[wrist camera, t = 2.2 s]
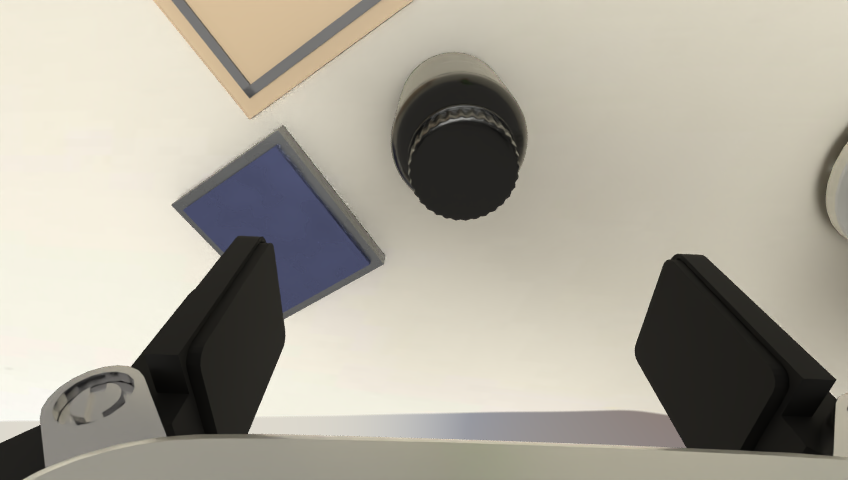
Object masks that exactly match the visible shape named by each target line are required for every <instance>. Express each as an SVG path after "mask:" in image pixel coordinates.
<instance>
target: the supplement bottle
mask: <svg viewBox="0 0 848 480" xmlns="http://www.w3.org/2000/svg"><path fill="white" fill-rule="evenodd" d="M527 140H528V139H527V126H526V122H525V118H524V116H523V113H522V111H521V109H520V106H519V105H518V103H517V101H516V100H515V98H514V97H513V96H512V94H511V93H510V92H509V90H508V89H507V88H506V86H505V85H504V84H503V82H502V81H501V80H500V79H499V77H498V76H497V75H496V73H495V72H494V71H493V70H492V69H491V68H490V67H489V66H488V65H487V64H486V63H484V62H483V61H481V60H480V59H478V58H476V57H474V56H471V55H468V54H464V53H456V52H453V53H443V54H439V55H436V56H434V57H432V58H429V59H428V60H426V61H424V62H423V63H422V64H420V65H419V66H418V67H417V68H416V69H415V70H414V71H413V72H412V74H411V75H410V76H409V78H408V79H407V81H406V83H405V85H404V87H403V90H402V93H401V96H400V100H399V104H398V107H397V111H396V115H395V119H394V123H393V127H392V134H391V150H392V156H393V160H394V163H395V166H396V168H397V170H398V172H399V174H400V176H401V177H402V179H403V180H404V182H405V183H406V184H407V185H408V186H409V188H410V189H411V190H413V191H414V194H415V195H416V196H417V197H419V200H420V202H421V203H422V204H424V205H425V206H426V208H427V209H428V210H431V211H433V212H434V213H435V214H436V215H442V216H443V217H444V218H452V219H454V220H460V219H462V220H469V219H477V218H479V217H480V216H486V215H487V214H488V213H489V212H493V211H495V210H496V209H497V207H498V206H501V205H502V204H503V203H504V201H505V199H507V198H508V197H510V194H511V191H512V190H513V189H514V188H515V182H516V181H517V179H518V172H519V170H520V168H521V166H522V163H523V161H524V158H525V154H526V149H527Z"/></svg>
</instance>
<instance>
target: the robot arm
mask: <svg viewBox="0 0 848 480" xmlns="http://www.w3.org/2000/svg"><path fill="white" fill-rule="evenodd" d="M826 207H827V213H828V216H829V218H830V221H831V223H832V225H833V226H834V227H835V229H836V230H837V231H838V232H839V234H840V235H842V236H843V237H845V238H846V239H848V142H847V144H846V145H845V146H844V148H843V149H842V151H841V153H840V155H839V157H838V158H837V160H836V162H835V164H834V166H833V169H832V171H831V174H830V177H829V180H828V184H827V191H826ZM284 343H285V326H284V319H283V311H282V304H281V296H280V289H279V281H278V274H277V266H276V259H275V251H274V246H273V244H272V243H266V240H265V238H264V237H258V236H237V237H236V238H235V239H234V241H233V242H232V243H231V245H230V246H229V247H228V248H227V250H226V251H225V252H224V253H223V255H222V256H221V257H220V258H219V260H218V261H217V262H216V263H215V265H214V266H213V267H212V268H211V270H210V271H209V272H208V274H207V275H206V276H205V277H204V279H203V280H202V281H201V282H200V284H199V285H198V286H197V287H196V289H194V290H193V291H192V292H191V293H190V294H189V295H188V296H187V297H186V299H185V300H184V301H183V302H182V304H181V305H180V306H179V307H178V309H177V310H176V311H175V312H174V314H173V315H172V316H171V317H170V319H169V320H168V321H167V322H166V324H165V325H164V326H163V327H162V329H161V330H160V331H159V332H158V334H157V335H156V336H155V337H154V339H153V340H152V341H151V342H150V344H149V345H148V346H147V347H146V349H145V350H144V351H143V352H142V354H141V355H140V356H139V357H138V359H137V360H136V361H135V362H134V364H133V365H132V366H131V367H129V366H120V365H117V366H108V367H102V368H98V369H95V370H92V371H88V372H86V373H84V374H82V375H79V376H77V377H75V378H73V379H72V380H70V381H68V382H67V383H65V384H64V385H62V386H61V387H59V388H58V389H57V390H56V391H55V392H54V393H53V394H52V395H51V396H50V397H49V398H48V399H47V401H46V403H45V404H44V406H43V407H42V410H41V415H40V424H41V425H39V426H37V427H35V428H33V429H30V430H28V431H26V432H24V433H22V434H19V435H17V436H15V437H13V438H11V439H8V440H6V441H4V442H2V443H0V480H848V393H846V394H844V395H842V396H839V397H838V399H836V398H835V397H834V396H833V395H832V394H831V393H830V392H829V391H830V389H831V387H832V386H833V384H834V383H835V381H836V379H835V378H834V377H833V376H832V375H831V374H830V373H829V372H827V371H826V370H825V369H824V368H823V367H822V366H821V365H820V364H819V363H818V362H817V361H816V360H815V359H814V358H813V357H812V356H810V355H809V354H808V353H807V352H806V351H805V350H804V349H803V348H802V347H801V346H800V345H799V344H798V343H797V342H796V341H795V340H793V339H792V338H791V337H790V336H789V335H788V334H787V333H786V332H785V331H784V330H783V329H782V328H781V327H780V326H779V325H778V324H776V323H775V322H774V321H773V320H772V319H771V318H770V317H769V316H768V315H767V314H766V313H765V312H764V311H763V310H762V309H761V308H759V307H758V306H757V305H756V304H755V303H754V302H753V301H752V300H751V299H750V298H749V297H748V296H747V295H746V294H745V293H744V292H742V291H741V290H740V289H739V288H738V287H737V286H736V285H735V284H734V283H733V282H732V281H731V280H730V279H729V278H728V277H727V276H725V275H724V274H723V273H722V272H721V271H720V270H719V269H718V268H717V267H716V266H715V265H714V264H713V263H712V262H711V261H710V260H708V259H707V258H706V257H705V256H703V255H691V254H676V255H674V256H673V257H672V258H671V260H667V261H666V262H665V263H664V265H663V267H662V270H661V273H660V276H659V279H658V282H657V285H656V288H655V290H654V293H653V296H652V299H651V302H650V305H649V308H648V311H647V313H646V316H645V319H644V322H643V325H642V328H641V331H640V334H639V337H638V339H637V342H636V346H635V356H636V360H637V362H638V364H639V365H640V367H641V369H642V371H643V372H644V374H645V376H646V378H647V379H648V381H649V383H650V385H651V386H652V388H653V390H654V392H655V393H656V395H657V397H658V399H659V400H660V402H661V404H662V406H663V407H664V409H665V411H666V413H667V414H668V416H669V418H670V420H671V421H672V423H673V425H674V427H675V428H676V430H677V432H678V434H679V435H680V437H681V438H682V440H683V442H684V444H685V446H686V447H687V448H671V447H647V446H622V445H597V444H571V443H544V442H514V441H486V440H457V439H426V438H393V437H392V438H390V437H360V436H327V435H326V436H324V435H285V434H248V432H249V429H250V427H251V425H252V422H253V420H254V417H255V415H256V412H257V410H258V408H259V405H260V403H261V400H262V398H263V395H264V393H265V391H266V388H267V386H268V383H269V381H270V378H271V376H272V374H273V371H274V369H275V366H276V364H277V361H278V359H279V357H280V354H281V352H282V349H283V347H284Z"/></svg>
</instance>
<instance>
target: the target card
mask: <svg viewBox="0 0 848 480" xmlns="http://www.w3.org/2000/svg"><path fill="white" fill-rule="evenodd" d="M153 1H154V2H155V3H156V4H157V6H158V7H159V8H160V9H161V10H162V12H163V13H164V14H165V15H166V17H167V18H168V19H169V20H170V22H171V23H172V24H173V25H174V27H175V28H176V29H177V30H178V31H179V33H180V34H181V35H182V36H183V38H184V39H185V40H186V41H187V43H188V44H189V45H190V46H191V48H192V49H193V50H194V51H195V52H196V54H197V55H198V56H199V57H200V59H201V60H202V61H203V62H204V64H205V65H206V66H207V67H208V69H209V70H210V71H211V72H212V73H213V75H214V76H215V77H216V78H217V80H218V81H219V82H220V83H221V85H222V86H223V87H224V88H225V89H226V91H227V92H228V93H229V94H230V96H231V97H232V98H233V99H234V101H235V102H236V103H237V104H238V106H239V107H240V108H241V109H242V110H243V112H244V113H245V114H246V115H247V117H248V118H249V119H251V118H252V117H254V116H255V115H257V114H258V113H259V112H261V111H262V110H263V109H265V108H266V107H268V106H269V105H270V104H272V103H273V102H274V101H276V100H277V99H279V98H280V97H281V96H283V95H284V94H285V93H287V92H288V91H289V90H291V89H292V88H294V87H295V86H296V85H298V84H299V83H300V82H302V81H303V80H305V79H306V78H307V77H309V76H310V75H311V74H313V73H314V72H316V71H317V70H318V69H320V68H321V67H322V66H324V65H325V64H327V63H328V62H329V61H331V60H332V59H333V58H335V57H336V56H338V55H339V54H340V53H342V52H343V51H344V50H346V49H347V48H349V47H350V46H351V45H353V44H354V43H355V42H357V41H358V40H360V39H361V38H362V37H364V36H365V35H366V34H368V33H369V32H370V31H372V30H373V29H375V28H376V27H377V26H379V25H380V24H381V23H383V22H384V21H386V20H387V19H388V18H390V17H391V16H392V15H394V14H395V13H397V12H398V11H399V10H401V9H402V8H403V7H405V6H406V5H408V4H409V3H410V2H412V1H413V0H153Z"/></svg>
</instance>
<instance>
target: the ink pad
mask: <svg viewBox="0 0 848 480" xmlns="http://www.w3.org/2000/svg"><path fill="white" fill-rule="evenodd" d="M172 206H173V207H174V208H175V209H176V210H177V211H178V212H179V214H180V215H181V216H182V217H183V218H184V219H185V220H186V221H187V222H188V223H189V224H190V225H191V226H192V227H193V228H194V229H195V230H196V231H197V232H198V233H199V234H200V235H201V236H202V237H203V238H204V239H205V240H206V241H207V242H208V243H209V244H210V245H211V246H212V247H213V248H214V249H215V250H216V251H217V252H218V253H219V255H220V256H222V255H223V253H224V252H225V251H226V250H227V248H228V247H229V246H230V245H231V243H232V242H233V241H234V239H235V238H236V237H237V236H258V237H264V238H265V240H266V243H272V244H273V246H274V251H275V259H276V266H277V274H278V281H279V289H280V296H281V304H282V311H283V319H285V318H287V317H289V316H291V315H292V314H294V313H296V312H298V311H300V310H301V309H303V308H305V307H307V306H309V305H311V304H312V303H314V302H316V301H318V300H320V299H321V298H323V297H325V296H327V295H329V294H330V293H332V292H334V291H336V290H338V289H340V288H341V287H343V286H345V285H347V284H349V283H350V282H352V281H354V280H356V279H358V278H359V277H361V276H363V275H365V274H367V273H369V272H370V271H372V270H374V269H376V268H378V267H379V266H381V265H383V264H384V260H385V255H384V254H383V253H382V251H381V250H380V249H379V247H378V246H377V245H376V244H375V242H374V241H373V240H372V238H371V237H370V236H369V235H368V233H367V232H366V231H365V229H364V228H363V227H362V226H361V224H360V223H359V222H358V221H357V219H356V218H355V217H354V215H353V214H352V213H351V212H350V210H349V209H348V208H347V206H346V205H345V204H344V203H343V201H342V200H341V199H340V197H339V196H338V195H337V194H336V192H335V191H334V190H333V188H332V187H331V186H330V185H329V183H328V182H327V181H326V180H325V178H324V177H323V176H322V174H321V173H320V172H319V171H318V169H317V168H316V167H315V165H314V164H313V163H312V162H311V160H310V159H309V158H308V156H307V155H306V154H305V153H304V151H303V150H302V149H301V147H300V146H299V145H298V144H297V142H296V141H295V140H294V139H293V137H292V136H291V135H290V133H289V132H288V131H287V130H286V128H285V127H284V126H281V127H280V128H279V129H277V130H276V131H274V132H273V133H272V134H270V135H269V136H267V137H266V138H264V139H263V140H262V141H260V142H259V143H257V144H256V145H255V146H253V147H252V148H250V149H249V150H247V151H246V152H245V153H243V154H242V155H240V156H239V157H237V158H236V159H235V160H233V161H232V162H230V163H229V164H228V165H226V166H225V167H223V168H222V169H220V170H219V171H218V172H216V173H215V174H213V175H212V176H211V177H209V178H208V179H206V180H205V181H203V182H202V183H201V184H199V185H198V186H196V187H195V188H193V189H192V190H191V191H189V192H188V193H186V194H185V195H184V196H182V197H181V198H179V199H178V200H177V201H176V202H174V203H173V204H172Z"/></svg>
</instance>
